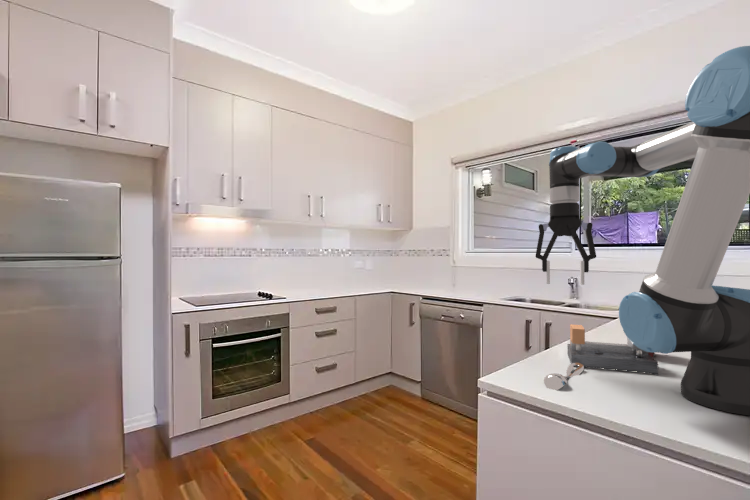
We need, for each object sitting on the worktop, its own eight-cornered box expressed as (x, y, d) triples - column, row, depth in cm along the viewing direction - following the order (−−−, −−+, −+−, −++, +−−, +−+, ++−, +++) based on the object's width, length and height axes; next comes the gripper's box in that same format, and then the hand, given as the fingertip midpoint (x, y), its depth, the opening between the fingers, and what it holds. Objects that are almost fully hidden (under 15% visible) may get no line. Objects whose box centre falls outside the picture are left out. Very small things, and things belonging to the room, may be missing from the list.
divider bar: (651, 358, 98) (651, 334, 98) (572, 351, 105) (572, 329, 105) (644, 352, 104) (644, 330, 104) (570, 346, 111) (570, 325, 111)
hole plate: (657, 374, 95) (657, 361, 95) (571, 365, 102) (571, 354, 102) (643, 360, 107) (643, 349, 107) (567, 353, 114) (567, 343, 114)
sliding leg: (584, 351, 104) (584, 329, 104) (572, 350, 105) (572, 328, 105) (581, 346, 110) (581, 325, 110) (570, 345, 111) (570, 324, 111)
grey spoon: (568, 353, 101) (588, 356, 98) (568, 366, 101) (588, 370, 98) (540, 376, 87) (562, 380, 83) (540, 391, 87) (563, 397, 84)
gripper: (604, 202, 109) (605, 283, 108) (525, 206, 116) (525, 281, 116) (609, 199, 102) (609, 286, 101) (524, 203, 110) (525, 283, 109)
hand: (564, 283), depth 109 cm, fingers open, 8 cm apart
